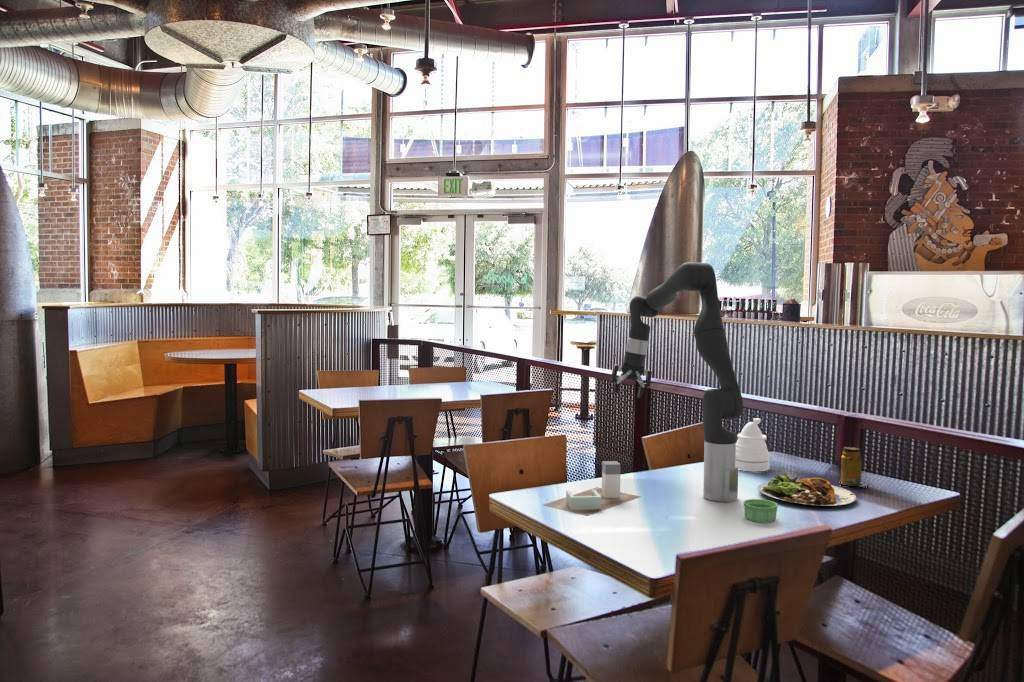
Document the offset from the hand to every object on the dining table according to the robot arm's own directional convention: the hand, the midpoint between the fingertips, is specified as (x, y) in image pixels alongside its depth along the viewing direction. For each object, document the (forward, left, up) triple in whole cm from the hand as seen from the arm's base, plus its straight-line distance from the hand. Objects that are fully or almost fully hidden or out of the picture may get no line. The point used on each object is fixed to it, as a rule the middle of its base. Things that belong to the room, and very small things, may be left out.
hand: (627, 395), depth 269 cm
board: (-22, +52, -25) cm, 62 cm away
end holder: (-23, +58, -24) cm, 67 cm away
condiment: (-71, -25, -26) cm, 79 cm away
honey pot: (-36, -25, -26) cm, 51 cm away
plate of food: (-65, +1, -26) cm, 70 cm away
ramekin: (-64, +32, -26) cm, 76 cm away
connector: (-23, +44, -24) cm, 55 cm away
